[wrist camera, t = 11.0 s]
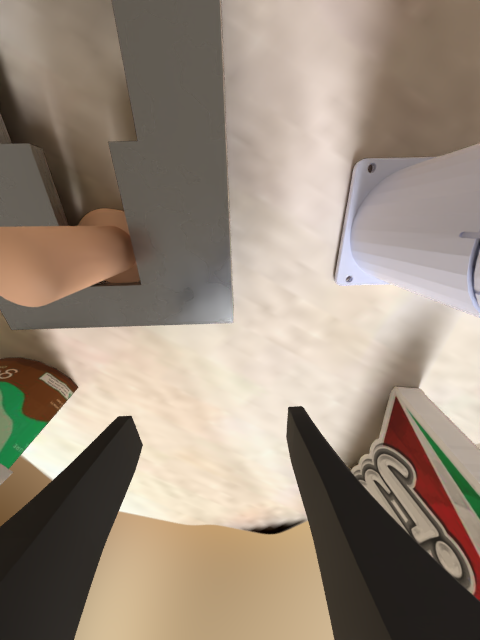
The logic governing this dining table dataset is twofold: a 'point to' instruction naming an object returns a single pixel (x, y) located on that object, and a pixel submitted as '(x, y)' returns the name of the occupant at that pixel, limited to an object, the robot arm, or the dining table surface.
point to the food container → (27, 405)
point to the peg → (65, 258)
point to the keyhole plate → (149, 179)
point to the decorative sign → (428, 482)
